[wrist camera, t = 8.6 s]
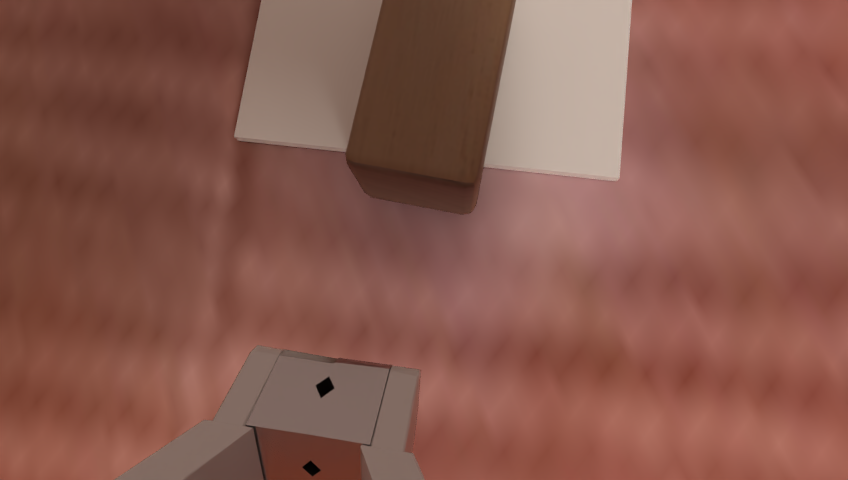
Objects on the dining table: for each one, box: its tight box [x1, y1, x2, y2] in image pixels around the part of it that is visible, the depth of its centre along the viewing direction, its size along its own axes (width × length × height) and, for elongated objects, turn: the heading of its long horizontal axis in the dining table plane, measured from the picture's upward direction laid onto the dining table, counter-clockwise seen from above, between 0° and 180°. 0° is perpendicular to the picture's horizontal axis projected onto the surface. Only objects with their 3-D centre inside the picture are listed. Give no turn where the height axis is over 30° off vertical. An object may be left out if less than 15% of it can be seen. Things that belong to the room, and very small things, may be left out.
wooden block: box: [345, 0, 516, 214], centre depth 18 cm, size 4×4×8 cm
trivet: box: [234, 0, 632, 181], centre depth 20 cm, size 12×14×1 cm
